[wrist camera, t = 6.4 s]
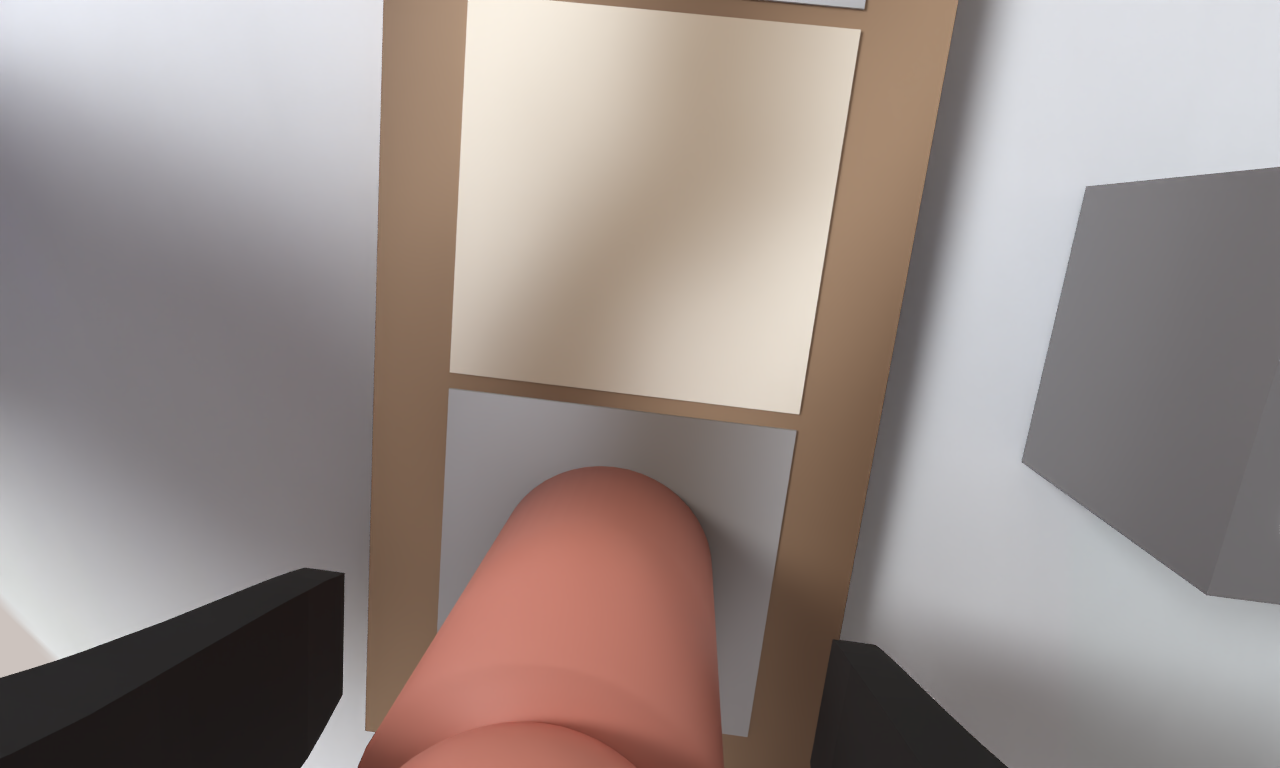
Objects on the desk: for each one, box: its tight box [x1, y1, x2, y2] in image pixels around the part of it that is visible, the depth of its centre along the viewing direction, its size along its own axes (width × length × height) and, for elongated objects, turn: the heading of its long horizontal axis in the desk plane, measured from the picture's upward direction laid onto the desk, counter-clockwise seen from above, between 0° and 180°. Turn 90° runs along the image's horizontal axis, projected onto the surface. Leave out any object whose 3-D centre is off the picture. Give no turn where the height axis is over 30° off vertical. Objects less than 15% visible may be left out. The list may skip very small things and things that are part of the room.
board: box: [365, 0, 958, 768], centre depth 12 cm, size 9×28×1 cm, turn 174°
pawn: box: [358, 466, 724, 768], centre depth 9 cm, size 4×4×9 cm
